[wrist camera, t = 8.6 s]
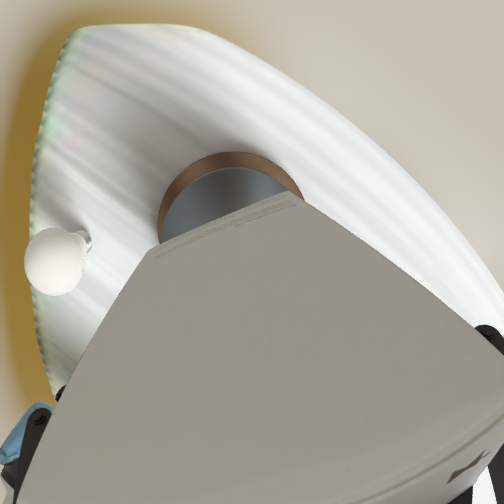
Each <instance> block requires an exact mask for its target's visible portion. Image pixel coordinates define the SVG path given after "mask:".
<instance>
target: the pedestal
mask: <svg viewBox="0 0 504 504" xmlns="http://www.w3.org/2000/svg"><path fill="white" fill-rule="evenodd" d="M285 191H290V192H291V193H293V194H294V195H296V196H297V197H299V198H300V199H302V200H304V198H303V196H302V194H301V192H300V189H299V188H298V186H297V185H296V183H295V182H294V180H293V179H292V178H291V177H290V176H289V175H288V174H287V173H286V172H285V171H284V170H283V169H282V168H280V167H279V166H278V165H276V164H274V163H273V162H271V161H269V160H267V159H265V158H263V157H260V156H257V155H254V154H250V153H243V152H225V153H218V154H214V155H211V156H208V157H205V158H203V159H200V160H198V161H197V162H195V163H193V164H192V165H190V166H189V167H187V168H186V169H185V170H184V171H182V172H181V173H180V174H179V175H178V176H177V177H176V179H175V180H174V181H173V182H172V184H171V185H170V187H169V188H168V190H167V192H166V194H165V196H164V198H163V201H162V203H161V206H160V211H159V215H158V236H159V242H160V244H162V243H164V242H166V241H168V240H170V239H172V238H175V237H177V236H179V235H181V234H184V233H186V232H188V231H191V230H193V229H195V228H198V227H200V226H202V225H204V224H207V223H209V222H211V221H214V220H216V219H218V218H221V217H223V216H226V215H228V214H230V213H233V212H235V211H237V210H240V209H242V208H245V207H247V206H250V205H252V204H254V203H257V202H259V201H262V200H264V199H267V198H269V197H272V196H274V195H277V194H279V193H282V192H285Z"/></svg>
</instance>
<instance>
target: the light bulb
mask: <svg viewBox="0 0 504 504" xmlns="http://www.w3.org/2000/svg"><path fill="white" fill-rule="evenodd" d="M91 246H92V241H91V237H90V236H89V234H88V233H87V232H86V231H83V230H76V231H75V232H72V233H69V232H67V231H65V230H63V229H59V228H49V229H45V230H42V231H41V232H39V233H38V234H36V235H35V236H34V237H33V238H32V239H31V241H30V242H29V244H28V246H27V249H26V252H25V257H24V266H25V272H26V275H27V277H28V279H29V281H30V282H31V284H32V285H33V286H34V287H35V288H36V289H37V290H38V291H40V292H42V293H44V294H46V295H51V296H59V295H63V294H65V293H68V292H69V291H70V290H72V289H73V288H74V287H75V286H76V285H77V284H78V282H79V281H80V279H81V277H82V274H83V270H84V257H85V255H86V253H88V252H89V251H90V249H91Z"/></svg>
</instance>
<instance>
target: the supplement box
mask: <svg viewBox="0 0 504 504" xmlns="http://www.w3.org/2000/svg"><path fill="white" fill-rule="evenodd" d="M503 443H504V355H502V354H501V353H500V352H499V351H498V350H497V349H496V348H495V347H494V346H493V345H492V344H491V343H490V342H489V341H488V340H487V339H485V338H484V337H483V336H482V335H481V334H480V333H479V332H478V331H477V330H476V329H474V328H473V327H472V326H471V325H470V324H469V323H467V322H466V321H465V320H464V319H463V318H461V317H460V316H459V315H458V314H457V313H455V312H454V311H453V310H452V309H451V308H449V307H448V306H447V305H446V304H445V303H443V302H442V301H441V300H440V299H439V298H437V297H436V296H435V295H434V294H433V293H431V292H430V291H429V290H428V289H426V288H425V287H424V286H423V285H421V284H420V283H419V282H417V281H416V280H415V279H414V278H412V277H411V276H410V275H408V274H407V273H406V272H404V271H403V270H402V269H401V268H399V267H398V266H397V265H395V264H394V263H393V262H391V261H390V260H389V259H387V258H386V257H385V256H383V255H382V254H380V253H379V252H378V251H376V250H375V249H374V248H372V247H371V246H370V245H368V244H367V243H365V242H364V241H363V240H361V239H360V238H358V237H357V236H355V235H354V234H353V233H351V232H350V231H348V230H347V229H345V228H344V227H343V226H341V225H340V224H338V223H337V222H335V221H334V220H333V219H331V218H329V217H328V216H327V215H325V214H324V213H322V212H321V211H319V210H318V209H316V208H315V207H313V206H312V205H310V204H308V203H307V202H305V201H304V200H302V199H300V198H299V197H297V196H296V195H294V194H293V193H291V192H290V191H285V192H282V193H279V194H277V195H274V196H272V197H269V198H267V199H264V200H262V201H259V202H257V203H254V204H252V205H250V206H247V207H245V208H242V209H240V210H237V211H235V212H233V213H230V214H228V215H226V216H223V217H221V218H218V219H216V220H214V221H211V222H209V223H207V224H204V225H202V226H200V227H198V228H195V229H193V230H191V231H188V232H186V233H184V234H181V235H179V236H177V237H175V238H172V239H170V240H168V241H166V242H164V243H162V244H160V245H157V246H155V247H154V248H152V249H150V250H149V251H148V252H147V253H146V254H145V256H144V257H143V259H142V260H141V262H140V263H139V265H138V266H137V268H136V269H135V271H134V272H133V274H132V275H131V277H130V278H129V280H128V281H127V283H126V284H125V286H124V287H123V289H122V290H121V292H120V293H119V295H118V297H117V298H116V300H115V301H114V303H113V305H112V306H111V308H110V309H109V311H108V313H107V314H106V316H105V318H104V319H103V321H102V323H101V324H100V326H99V328H98V329H97V331H96V333H95V335H94V336H93V338H92V340H91V341H90V343H89V345H88V347H87V349H86V350H85V352H84V354H83V356H82V357H81V359H80V361H79V363H78V365H77V367H76V369H75V370H74V372H73V374H72V376H71V378H70V380H69V381H68V383H67V385H66V387H65V389H64V391H63V393H62V395H61V397H60V399H59V401H58V403H57V405H56V407H55V409H54V411H53V413H52V416H51V418H50V420H49V422H48V424H47V426H46V429H45V431H44V433H43V435H42V438H41V440H40V442H39V444H38V447H37V449H36V451H35V454H34V456H33V458H32V461H31V463H30V466H29V468H28V471H27V473H26V476H25V478H24V481H23V484H22V486H21V489H20V492H19V495H18V498H17V501H16V504H447V503H449V502H450V501H452V500H453V499H455V498H456V497H457V496H459V495H460V494H462V493H463V492H464V491H466V490H467V489H468V488H470V487H471V486H472V485H474V484H475V483H476V481H477V479H478V477H479V475H480V474H481V473H482V472H483V471H484V469H485V468H486V467H487V465H488V464H489V463H490V461H491V460H492V459H493V457H494V456H495V455H496V453H497V452H498V450H499V449H500V448H501V446H502V445H503Z"/></svg>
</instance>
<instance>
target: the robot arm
mask: <svg viewBox="0 0 504 504" xmlns="http://www.w3.org/2000/svg"><path fill="white" fill-rule="evenodd" d="M474 329H476V330H477V331H478V332H479V333H480V334H481V335H482V336H483V337H484V338H485V339H487V340H488V341H489V342H490V343H491V344H492V345H493V346H494V347H495V348H496V349H497V350H498V351H499V352H500V353H501V354H502V355H504V338H503V337H502V335H501V334H500V333H499V331H498V330H497V329H495V328H494V327H492V326H489V325H479V326H477V327H475V328H474ZM65 387H66V385H65V386H63V387H62V388H61V389H60V390H59V391H58V393H57V394H56V398H55V400H56V401H57V402H58V401H59V399H60V397H61V395H62V393H63V391H64V389H65ZM54 409H55V408H54V407H52V406H51V405H49V404H47V403H45V402H36V403H34V404H33V405H32V406H31V407H30V408H29V409H28V411H27V412H26V413H25V414H24V416H23V417H22V418H21V420H20V421H19V422H18V423H17V425H16V426H15V427H14V429H13V430H12V431H11V433H10V434H9V436H8V437H7V438H6V440H5V442H4V443H3V445H2V446H1V448H0V464H2V465H4V468H3V470H2V472H1V475H0V477H1V479H2V482H3V484H4V486H5V488H6V492H7V494H6V496H5V499H4V502H3V504H16V501H17V498H18V495H19V492H20V489H21V486H22V484H23V481H24V478H25V476H26V473H27V471H28V468H29V466H30V463H31V461H32V458H33V456H34V454H35V451H36V449H37V447H38V444H39V442H40V440H41V438H42V435H43V433H44V431H45V429H46V426H47V424H48V422H49V420H50V418H51V416H52V413H53V411H54ZM487 466H488V469H489V473H490V477H491V480H492V484H493V488H494V492H495V497H496V501H497V504H504V443H503V445H502V446H501V448H500V449H499V450H498V452H497V453H496V455H495V456H494V457H493V459H492V460H491V461H490V463H489V464H488V465H487ZM472 494H473V485H472V486H471V487H470V488H468V489H467V490H466V491H464V492H463V493H462V494H460V495H459V496H457V497H456V498H455V499H453V500H452V501H450V502H449V503H447V504H472Z"/></svg>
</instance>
